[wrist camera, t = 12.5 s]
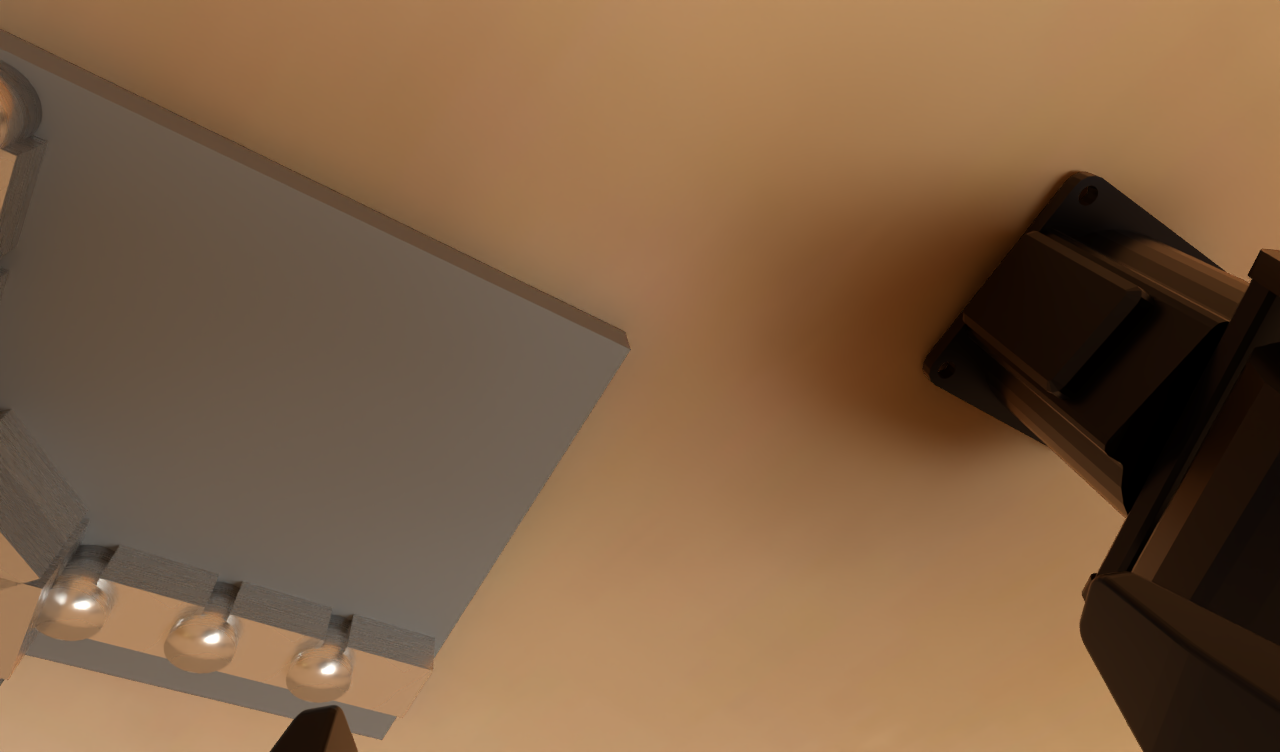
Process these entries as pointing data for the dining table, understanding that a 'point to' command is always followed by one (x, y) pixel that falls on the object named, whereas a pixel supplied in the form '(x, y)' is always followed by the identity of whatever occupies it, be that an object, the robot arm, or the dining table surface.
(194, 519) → the grey base plate
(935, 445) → the dining table surface
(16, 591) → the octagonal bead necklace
